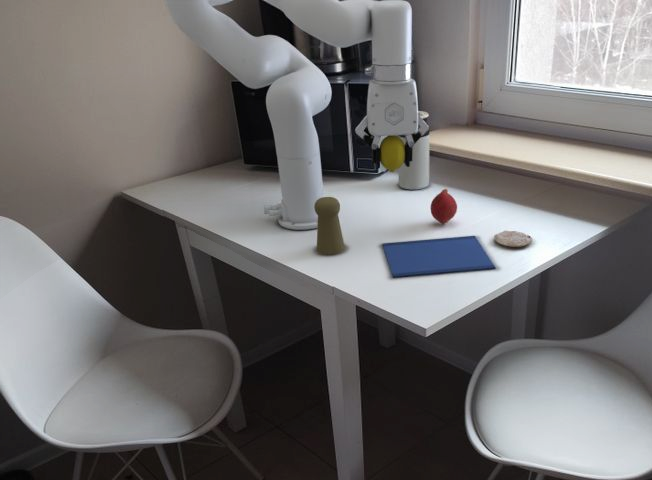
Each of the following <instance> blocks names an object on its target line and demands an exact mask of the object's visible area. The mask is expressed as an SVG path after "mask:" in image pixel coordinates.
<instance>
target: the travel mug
mask: <svg viewBox="0 0 652 480" xmlns="http://www.w3.org/2000/svg"><path fill="white" fill-rule="evenodd" d="M418 115H419V116H420V117H421V118H422V119H423V121H424V122H425V123H426V124H427V125H428V126H429V123H428V117H429V115H430V114H429V113H428V112H426V111H424V110H423V111H422V110H418ZM415 122H416V121H415ZM429 127H430V126H429ZM419 128H420V125H419V124H418V129H419ZM413 134H414V133H413ZM413 134H411V135H413ZM397 136H398V137H399V138H400V139H401V140H402V141H403V143H404V145H405V144H406V139H405V136H404V135H397ZM429 185H430V129H429V130H428V131H427V132H426V133H425V134H424V135H422V136H421V138H420V139H419V140H418V141H417V142H416V143H415V144H414V147H413V151H412V161H410V167H407V166H406V165H405V163H403V164H402V166H401V167H400V168H398V186H399V187H400V188H401V189H405V190H411V191H416V190H422V189H425V188H427V187H428V186H429Z"/></svg>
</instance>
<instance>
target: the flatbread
mask: <svg viewBox="0 0 652 480" xmlns="http://www.w3.org/2000/svg"><path fill="white" fill-rule="evenodd" d="M493 237H494V239H493V240H494V241H495V242H496V243H498V244H500V245H502V246H506V247H511V248H517V247H519V248H520V247H525V246H528V245H530V244H531V243H532V242H533V238H532V236H531V235H529V234H526V233H524V232H521V231H517V230H503V231H501V232H498V233H496V234H494V236H493Z"/></svg>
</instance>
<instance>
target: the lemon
mask: <svg viewBox="0 0 652 480" xmlns="http://www.w3.org/2000/svg"><path fill="white" fill-rule="evenodd" d="M379 144H380V145H379V149H380V165H381V166H382V167H383V168H385V169H386V170H387V171H389V172H390V173H394V172H395V171H396V170H399V168H400V167H401V166H402V164H403V163H404V160H405V146H404V143H403V141H402V140H401V139H400V138H399V137H398V135H393V136H384V138H383V139H382V140H381V142H380V143H379Z"/></svg>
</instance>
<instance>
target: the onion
mask: <svg viewBox="0 0 652 480" xmlns="http://www.w3.org/2000/svg"><path fill="white" fill-rule="evenodd" d="M448 192H449V191H448V188H443V189H442V190H441V191H440V192H439V193H438V194H436V196H435V197H433V199H432V201H431V203H430V213H431V216H432V217H433V219H434V220H436V221H437V222H439V223H441V224H442V225H445V224H447V223H448V222H449V221H450V220H452V219H454V217H455V215H456V214H457V211H458V204H457V201H456V200H455V198H454V197H453V196H452V195H451V194H450V193H448Z"/></svg>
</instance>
